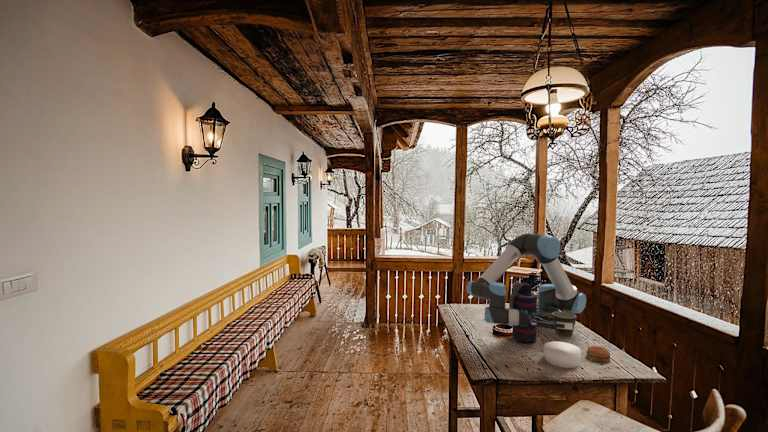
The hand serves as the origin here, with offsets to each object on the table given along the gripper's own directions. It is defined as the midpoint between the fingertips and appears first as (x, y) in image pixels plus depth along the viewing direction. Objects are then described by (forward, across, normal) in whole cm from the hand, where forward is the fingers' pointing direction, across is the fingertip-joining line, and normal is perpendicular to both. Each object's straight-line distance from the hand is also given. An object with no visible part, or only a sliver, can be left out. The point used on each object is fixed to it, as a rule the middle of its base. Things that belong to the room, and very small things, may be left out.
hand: (571, 322), depth 168 cm
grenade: (-20, -22, -18) cm, 35 cm away
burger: (+13, -9, -18) cm, 24 cm away
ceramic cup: (-4, +1, -7) cm, 8 cm away
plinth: (-3, 0, -18) cm, 18 cm away
